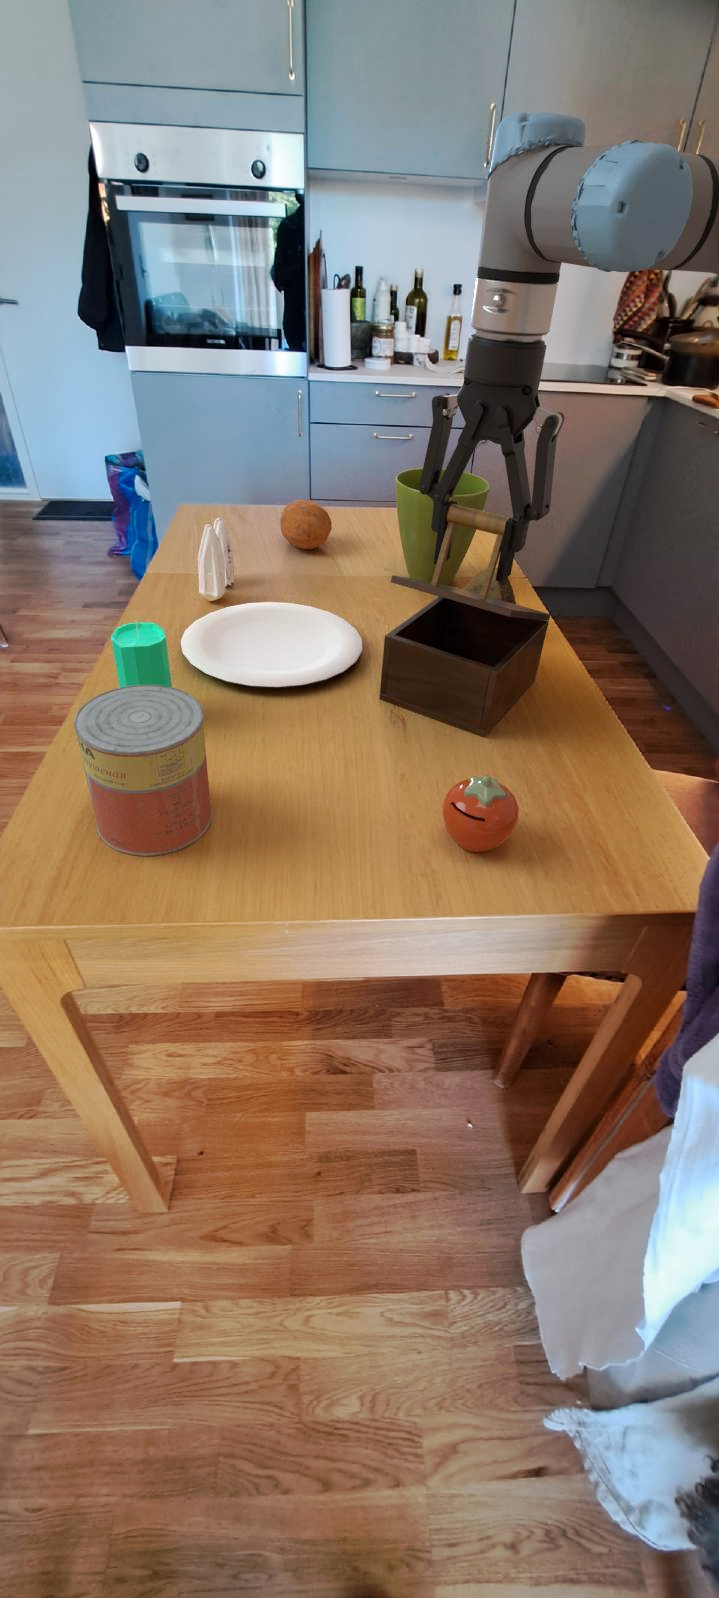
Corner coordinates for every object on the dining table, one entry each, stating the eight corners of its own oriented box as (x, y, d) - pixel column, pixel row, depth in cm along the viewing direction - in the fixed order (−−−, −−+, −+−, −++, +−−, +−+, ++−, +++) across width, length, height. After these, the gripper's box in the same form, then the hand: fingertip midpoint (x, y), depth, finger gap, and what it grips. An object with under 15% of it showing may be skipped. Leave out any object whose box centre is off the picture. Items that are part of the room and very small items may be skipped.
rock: (426, 607, 111) (475, 623, 104) (453, 554, 110) (503, 567, 103) (465, 634, 119) (512, 651, 112) (489, 586, 118) (538, 600, 111)
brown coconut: (329, 536, 139) (330, 494, 134) (333, 558, 130) (334, 515, 126) (280, 534, 138) (280, 493, 133) (280, 557, 129) (280, 513, 125)
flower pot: (408, 555, 133) (417, 461, 123) (486, 573, 129) (502, 477, 119) (373, 583, 123) (379, 483, 113) (456, 603, 118) (471, 501, 108)
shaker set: (222, 608, 112) (218, 535, 105) (195, 606, 112) (189, 533, 105) (237, 577, 121) (234, 509, 114) (212, 575, 121) (207, 507, 114)
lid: (509, 616, 79) (539, 522, 76) (390, 581, 84) (413, 492, 81) (548, 620, 94) (575, 541, 91) (445, 590, 100) (466, 515, 96)
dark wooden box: (485, 737, 88) (497, 672, 83) (379, 699, 94) (384, 635, 88) (534, 681, 100) (549, 620, 94) (437, 649, 105) (445, 590, 100)
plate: (391, 679, 98) (392, 668, 97) (205, 710, 90) (204, 698, 88) (325, 603, 115) (325, 592, 114) (165, 622, 107) (163, 611, 106)
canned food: (108, 782, 78) (88, 683, 70) (216, 783, 79) (208, 685, 71) (85, 856, 69) (59, 752, 61) (207, 855, 70) (196, 753, 62)
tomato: (423, 840, 73) (432, 776, 68) (464, 806, 78) (476, 744, 73) (485, 876, 70) (500, 812, 65) (525, 838, 74) (541, 775, 69)
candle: (145, 696, 91) (131, 605, 84) (185, 709, 89) (175, 617, 82) (113, 718, 87) (95, 625, 79) (154, 733, 85) (140, 638, 78)
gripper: (398, 325, 71) (380, 557, 86) (598, 352, 64) (542, 602, 78) (432, 320, 76) (410, 540, 91) (622, 345, 69) (565, 580, 83)
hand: (471, 568), depth 84 cm, fingers closed on lid, 7 cm apart
